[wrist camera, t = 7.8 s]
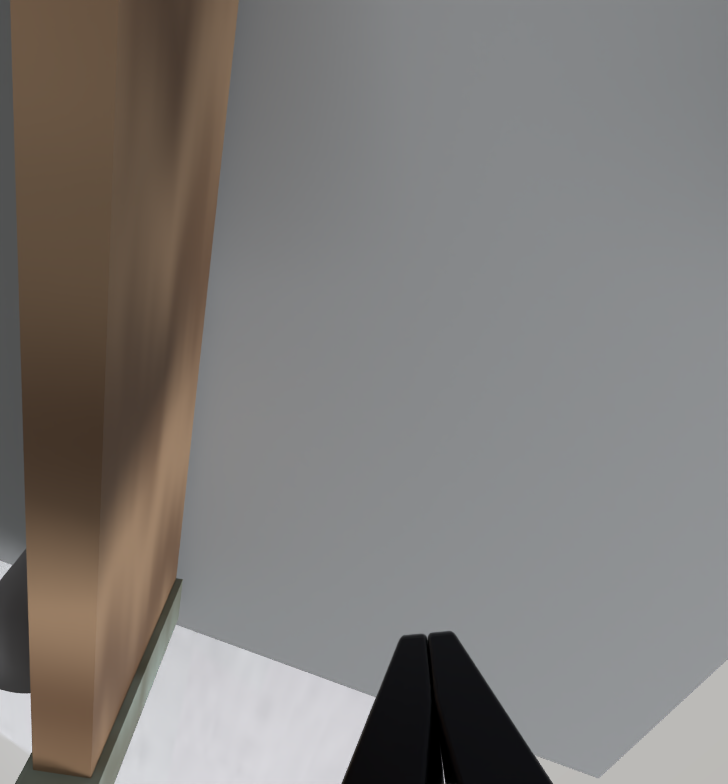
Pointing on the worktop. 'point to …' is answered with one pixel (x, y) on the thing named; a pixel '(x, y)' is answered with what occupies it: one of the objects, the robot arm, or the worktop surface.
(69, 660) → the gate
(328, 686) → the worktop surface
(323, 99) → the gate frame
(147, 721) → the worktop surface
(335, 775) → the worktop surface
